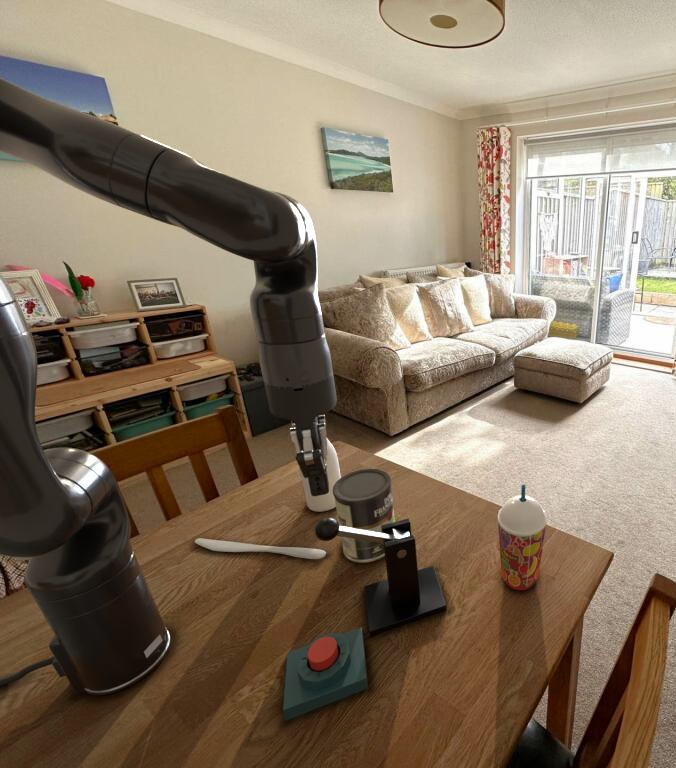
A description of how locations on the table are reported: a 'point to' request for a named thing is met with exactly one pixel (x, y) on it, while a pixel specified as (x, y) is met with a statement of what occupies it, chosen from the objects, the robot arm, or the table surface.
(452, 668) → the table surface
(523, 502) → the smoothie
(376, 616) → the bracket
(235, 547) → the butter knife
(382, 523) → the coffee can
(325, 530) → the lever
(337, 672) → the button block
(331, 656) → the button
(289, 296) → the robot arm
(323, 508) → the milk bottle
